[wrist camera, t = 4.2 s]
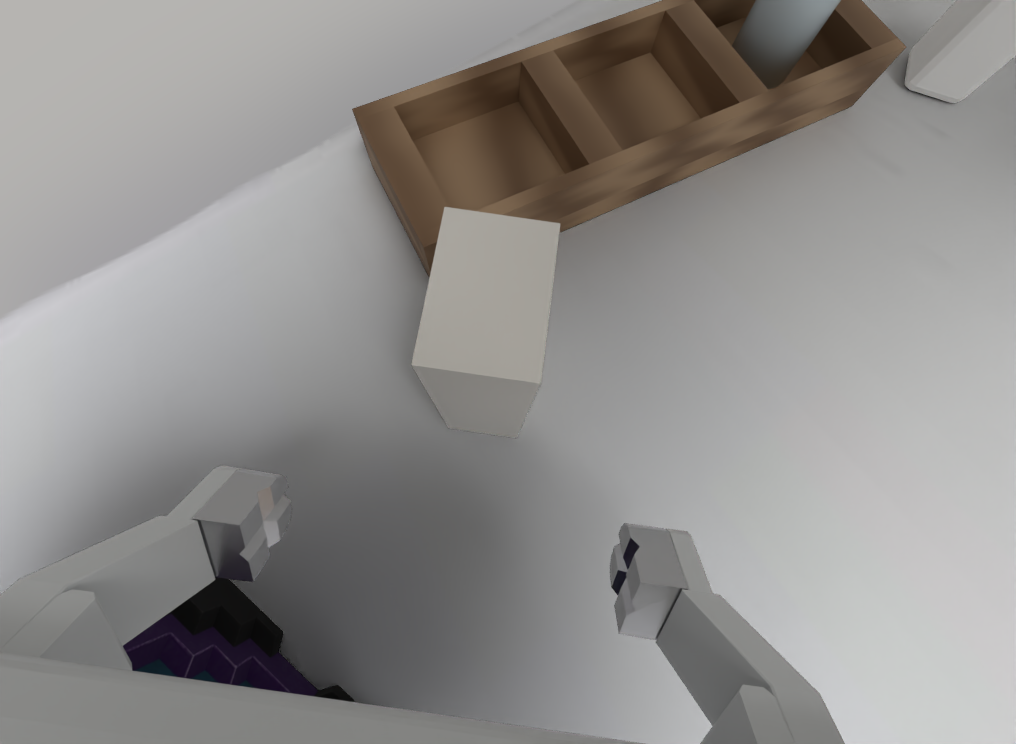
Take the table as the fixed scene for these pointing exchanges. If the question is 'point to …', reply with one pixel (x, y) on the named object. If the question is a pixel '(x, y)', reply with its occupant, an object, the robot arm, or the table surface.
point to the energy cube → (221, 645)
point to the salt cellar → (780, 35)
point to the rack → (606, 114)
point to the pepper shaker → (963, 49)
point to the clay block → (486, 319)
